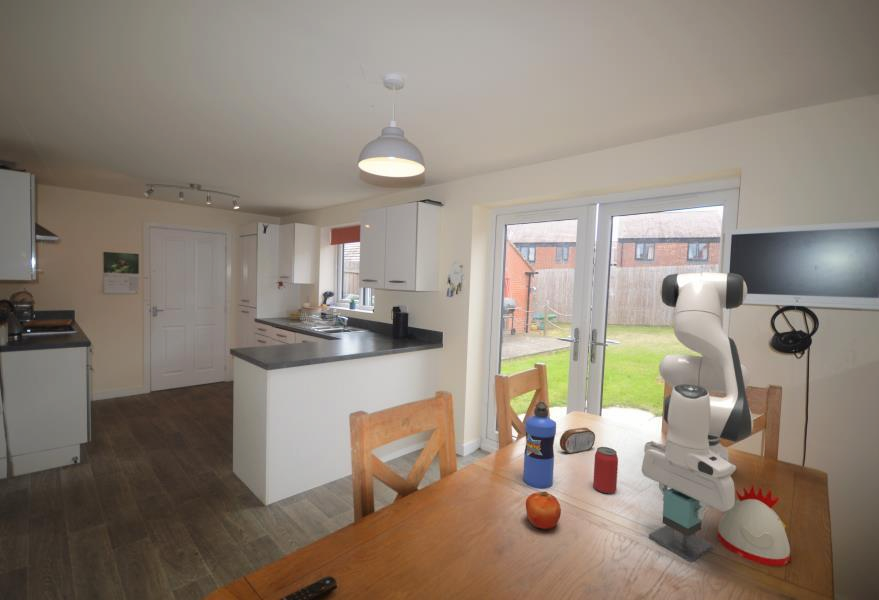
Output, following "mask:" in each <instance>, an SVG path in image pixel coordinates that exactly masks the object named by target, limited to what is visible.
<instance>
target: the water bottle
mask: <svg viewBox="0 0 879 600" xmlns="http://www.w3.org/2000/svg"><path fill="white" fill-rule="evenodd" d="M534 406H535V407H534V410H533V411H534V413H533V414H534V415H533V416H529V417H526V418H525V423H524V432H525V448H524V454H523V455H524V456H523V457H524V458H523V474H522V481H523V482H524V484H525V485H527V486H529V487H531V488H535V489H540V490H541V489H549V488H551V487H552V486H553V484H554V468H555V467H554V466H555V453H554V443H555V438H556V434H557V422H556V421H555V420H553V419H552V418H549V409H548V407H549V406H548V405H547V403H545V402H544V401H539V402H537V403H536V404H535V405H534Z"/></svg>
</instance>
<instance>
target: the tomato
mask: <svg viewBox="0 0 879 600" xmlns="http://www.w3.org/2000/svg"><path fill="white" fill-rule="evenodd" d="M525 509H526V511H525V512H526V516H527V519H528V520H529V521H530V523H531V524H532V525H533V526H534V527H536V528H538V529H539V528H540V529H542V530H549V529H551V528H554V527H556V525H557V523H558V522H559V520H560V518H561V515H562V507H561V505H560V502H559V501H558V498H557V497H555V496H554V495H553V494H551V493H549V492H548V491H546V490H545V491H539V492H534V493H531V494H530V495H528V496H527V498H526V500H525Z"/></svg>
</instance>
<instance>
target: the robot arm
mask: <svg viewBox="0 0 879 600" xmlns="http://www.w3.org/2000/svg"><path fill="white" fill-rule="evenodd" d="M747 286H748V285H747V284H746V281H745V279H744V277H743V276H742V275H740V274H737V273H733V272H727V273H725V272H724V273H723V272H711V271H710V272H709V271H708V272H706V271H703V272H692V273H691V272H688V273H681V274H679V273H673V274H669V275H666V276H665V277H664V278H663V280H662V282H661V284H660V287H659V295H660V299H661V301H662V303H663V304H665V305H666V306H667V307H671V308H674V317H673V333H674V336H675V338H676V340H677V341H678V342H679V343H681V344H682V345H683V346H684V347H686V349H689V350H691V351H693V352H695V353H696V354H697V353H698V354H700V355H701V356H700V355H694V354H693V355H692V354H687V353H685V354H683V353H672V354H666V355H664V356H663V357H662V358H661V360H660V361H659V362H660V363H659V364H658V373H659V375H660V377H661V378H662V380H663V381H665V383H667V384H668V385H669V386H670V387H671V389H672V391H671V394H669V395H668V396H667V397H665V398H664V404H663V405H664V408H663V420H664V421H665V423H666V424H667V425H668V431H667V433H666V437H665V438H666V439H665V444H662V443H657V442H656V441H652V440H651V441H649V442H648V441H647V442H646V443H645V444H644V456H643V459H642V465H641V472H642V474H643V476H644V477H646V478H647V479H650V480H653V481H655V482H657V483H658V488H659V490H660V493H661V495H662V503H663V502H664V491H666V490H669V489H671V488H672V489H674V490H676V491H679V492H681V493H683V494H685V495H687V496H690V497H692V498H694V499H696V500H698V501H700V504H699V505H700V506H702V507H701V508H697V509H695V510H694V517H696V518H698V519H700V520H701V519H702V520H703V519H704V518H705V512H706V511H707V510H708V508H710V507H712V508H715V509H716V510H718V511H721V512H723V513H724V512H725V511H727V510H729V509H731V508H732V507H733V506H734V502H735V501H736V498H735V497H736V494H735V493H736V489H735V483H734V480H733V478H732V477H731V476H732V475H733V474H734V473H735V471H736V470H737V466H736V465H735V464H733V463H731V462H729V456H730V455H729V451H728V450H727V449H726V448H725V447H724V446H723V444H721V439H723V440H726V441H730V442H733V443H738V442H741V441H743V440H745V439H747V438H749V437H750V436H751V435H752V433H753V430H754V429H753V428H754V418H753V413H752V411H751V408H750V405H749V401H748V397H747V391H746V389H747V387H748V386H749V383H750V373H749V370H748V369H747V367H745V365H744V364H742V363H741V360H740V356H739V351H738V347H737V344H736V343H735V341H734V339H733V338H731V337H729V336H727V335H726V333H725V331H724V309H726V310H731V309H737V308H739V307H740V306H742V305H743V303H744V301H745V300H746V298H747V295H748V287H747ZM709 391H710V392H715V393H722V394H726V396H725V397H720V396H712V395H710V393H709ZM668 488H669V489H668Z"/></svg>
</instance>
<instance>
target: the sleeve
mask: <svg viewBox="0 0 879 600" xmlns="http://www.w3.org/2000/svg"><path fill="white" fill-rule="evenodd" d="M681 496H682V497H684V498H686V499H688V500H686V499H684V498H682V497H681ZM662 503H663V505H662V517H663V516H665V517H667V518H669V519H671V520H673V521H675V522H676V523H678V524H680V525H682V526H684V527H686V528H690V527H692V526H694V525H696V524H698V523H699V522H701V521H702V522H703V519H701V520H700V519H698V518H696V517H694V510H695V509H697V508H701V507H702V506H700V505H699V504H700V501H698V500H696V499H694V498H692V497H690V496H687V495H685V494H683V493H681V492H679V491H676V490H674V489H672V488H669V489H668V490H666V491H664V502H663V501H662Z"/></svg>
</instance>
